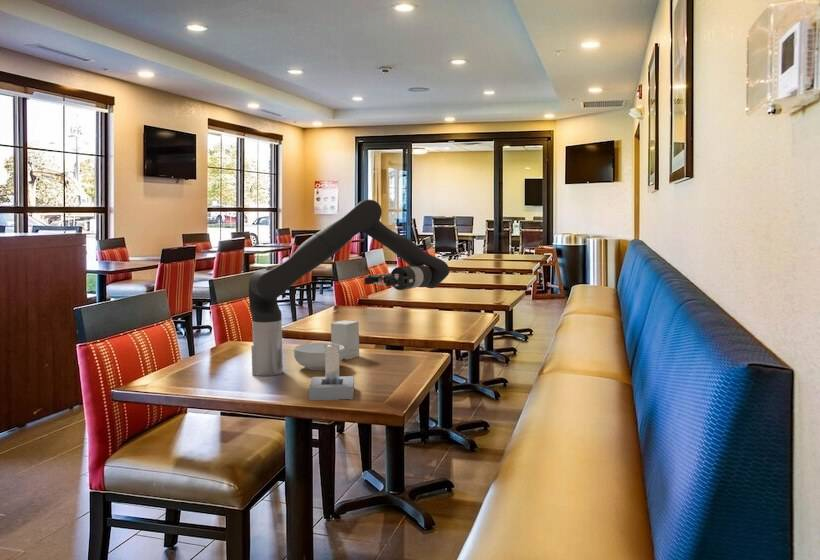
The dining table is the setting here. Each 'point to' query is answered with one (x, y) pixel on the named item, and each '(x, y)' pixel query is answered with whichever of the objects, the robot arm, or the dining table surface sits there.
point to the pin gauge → (331, 364)
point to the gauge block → (331, 389)
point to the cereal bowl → (314, 355)
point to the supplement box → (346, 337)
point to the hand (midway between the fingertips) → (375, 281)
